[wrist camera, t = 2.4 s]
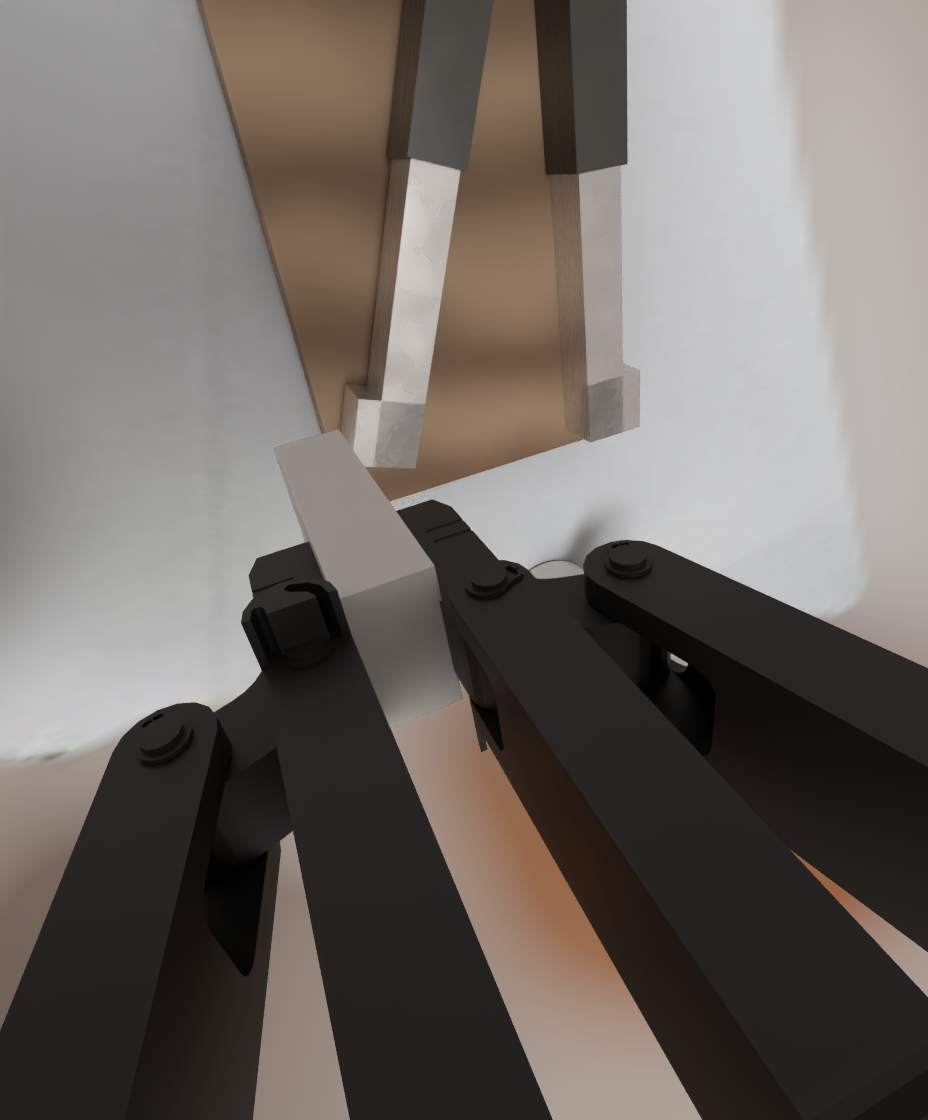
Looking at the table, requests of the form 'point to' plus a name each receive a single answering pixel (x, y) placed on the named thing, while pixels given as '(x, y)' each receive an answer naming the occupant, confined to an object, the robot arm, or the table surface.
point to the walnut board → (359, 215)
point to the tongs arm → (417, 221)
